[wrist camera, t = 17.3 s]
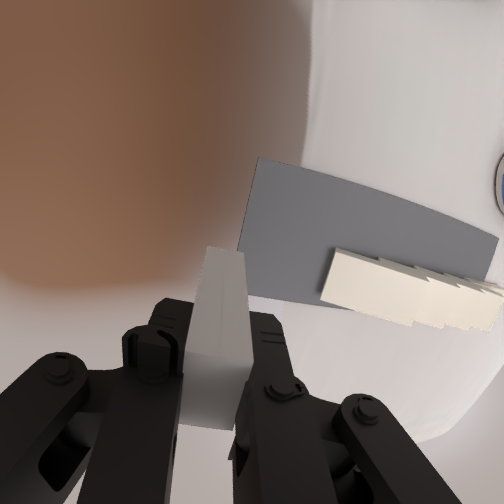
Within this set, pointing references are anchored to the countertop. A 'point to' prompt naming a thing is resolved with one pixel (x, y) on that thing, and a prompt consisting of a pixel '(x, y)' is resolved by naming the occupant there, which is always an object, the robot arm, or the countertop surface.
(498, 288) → the domino
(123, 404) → the robot arm
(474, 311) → the domino
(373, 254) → the mat
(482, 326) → the domino
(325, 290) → the domino
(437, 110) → the countertop surface
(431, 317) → the domino
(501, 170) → the supplement tub
